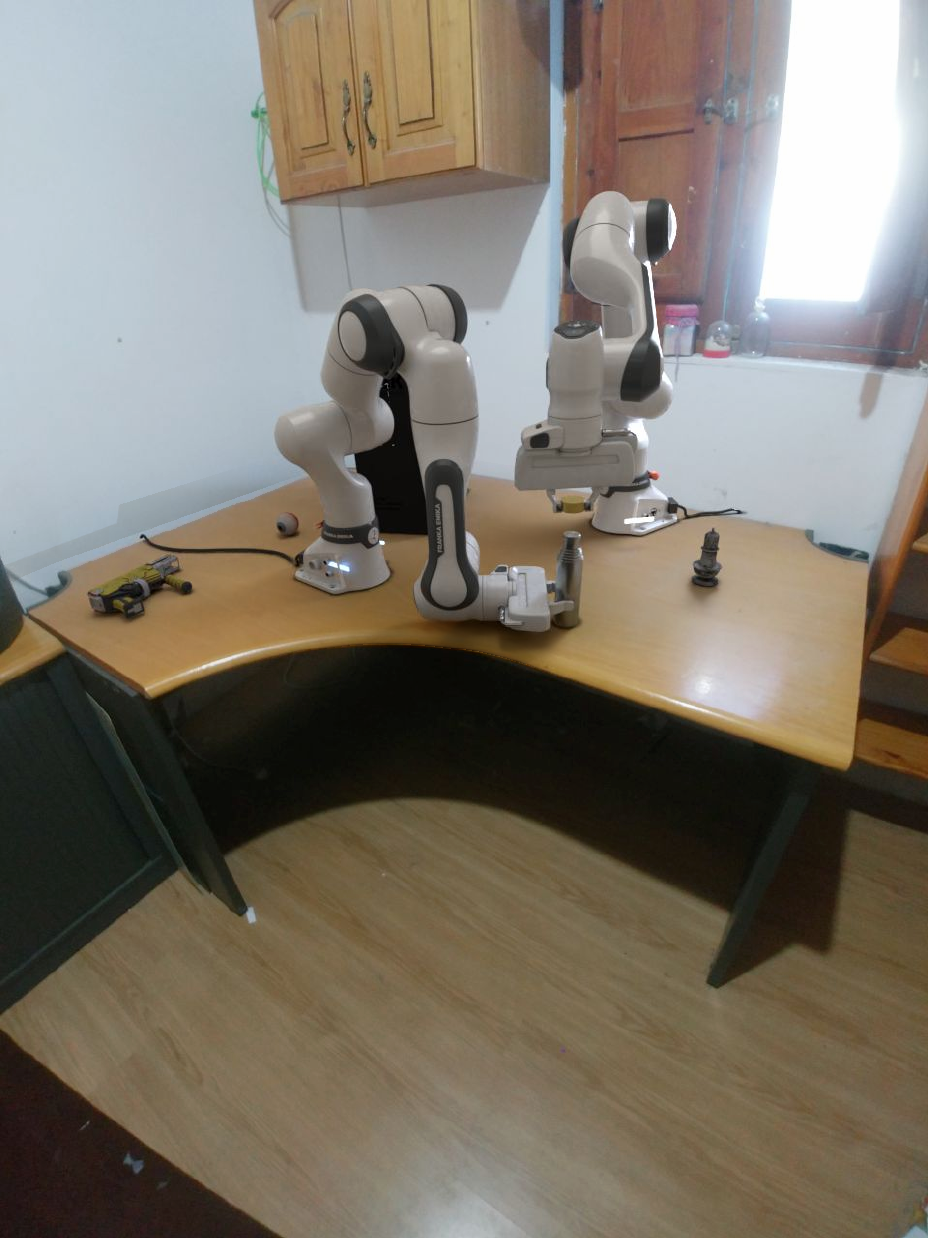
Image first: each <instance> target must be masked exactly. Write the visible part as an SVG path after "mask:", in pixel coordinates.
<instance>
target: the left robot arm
mask: <svg viewBox="0 0 928 1238" xmlns="http://www.w3.org/2000/svg"><path fill="white" fill-rule="evenodd" d="M468 322H469V321H468V312H467V308H466V305H465V302H464V301H463V298H462V296H461V295H460V294H459V293H458V291H456V290H455V289H454V288H452V287H450V286H448V285H443V284H437V283H429V284H427V285H404V286H397V287H394V288H390V289H385V290H381V291H378V290H376V289H373V288H368V287H359V288H355V289H352V290H351V291H349V292H348V293H347V294H346V295H345V296H344V297H343V300H342V301H341V303H340V305H339V307H338V309H337V312H336V314H335V316H334V318H333V321H332V324H331V327H330V330H329V333H328V338H327V341H326V347H325V351H324V355H323V360H322V364H321V368H320V373H319V374H320V382H321V385H322V387H323V390H324V391H325V393H326V394H327V395H328V396H329V398H331V400H328V401H325V402H319V403H313V404H307V405H302V406H301V405H300V406H299V407H296V408H293V409H291V410H289V411H287V412H285V413H283V414H280V416H278V418H277V419H276V421H275V425H274V431H273V438H274V442H275V445H276V448H277V449H278V452H279V453H280V454H281V456H282V457H283V458H284V459H286V461H288V462H289V463H291V464H292V465H295V466H297V467H298V468H300V469H302V470H303V471H304V472H305V473H306V474H307V475H308V476H309V478H310V479H311V480H312V481H313V484H314V485H315V487H316V489H317V492H318V497H319V500H320V504H321V508H322V512H323V519H322V521H321V522H319V523H316V524H315V526H316V530H319V529H321V532H320V536H318V538H316V539H315V540H314V541H313V542H312V543H311V544H310V545H309V546H307V548H305V549H304V550H301V551H300V552H298V553H297V554H296V555H295V556H294V560H293V559H292V558H291V557H290V556H289V555H288V554H286V553H284V552H282V551H278V550H273V549H268V548H267V549H266V548H265V549H264V548H253V547H223V548H222V547H221V548H220V547H217V548H181V547H172V546H171V547H169V546H163V545H160V544H157V543H155V542H152V541H151V540H150V539H149V538H148V537H147V536H146V534H144V533H141V534H140V536H139V539H141V540H145V541H146V543H147V544H148V545H149V546H152V547H154V548H157V549H161V550H167V551H171V552H172V551H173V552H184V553H185V552H187V553H188V552H189V553H190V552H191V553H194V552H195V553H205V552H206V553H210V552H211V553H212V552H256V553H268V554H273V555H274V554H275V555H278V556H282V557H284V558H285V559H286V560H287V561H289V562H290V563H294V562H295V563H294V566H295V567H299V566H300V565H302V566H300V567H299V568H298V569H297V570H296V572H295V573H294V578H295V579H296V580H298V581H300V582H302V583H305V584H307V585H310V586H313V587H315V588H316V589H319V590H322V591H323V592H324V591H325V592H327V593H329V594H332V595H339V594H343V593H347V592H353V591H363V590H366V589H370V588H374V587H376V586H378V585H380V584H383V583H384V582H386V581H387V580H388V579H389V577H390V576H391V571H390V568H389V567H388V564H387V561H386V558H385V555H384V552H383V548H382V545H385V541H383V540H380V532H379V524H378V518H377V515H376V514H375V510H374V502H373V494H372V487H371V484H370V483H369V481H368V480H367V479H366V478H365V477H364V476H363V475H361V474H359V473H357V472H356V471H353V470H350V469H348V468H347V465H346V462H345V457H347V456H351V455H352V456H353V455H354V454H356V453H360V452H364V451H368V450H371V449H373V448H375V447H378V446H380V445H381V444H383V443H385V442H387V441H389V440H390V438H391V436H392V434H393V430H394V418H393V414H392V411H391V409H390V407H389V406H388V405H387V403H386V402H385V401H384V400H383V399H381V398H380V397H379V392H380V388H381V387H382V386H381V385H382V381H383V378H385V379H391V378H392V377H393V376H394V375H395V374H396V372H398V373H399V374H400V375H401V376H402V377H403V378H404V380H405V381H406V383H407V386H408V391H409V398H410V415H411V425H412V433H413V439H414V444H415V449H416V454H417V458H418V463H419V468H420V472H421V477H422V483H423V488H424V493H425V499H426V511H427V526H428V534H427V541H428V553H427V558H426V561H425V563H424V566H423V568H422V571H421V573H420V574H419V577H418V578H417V579H416V580H415V581H414V584H413V590H412V592H413V601H414V605H415V608H416V611H417V613H418V614H419V615H420V617H422V618H424V619H426V620H430V621H437V622H465V621H467V620H477V621H481V622H499V624H502V625H504V626H505V627H506V628H511V629H512V630H515V631H523V632H537V633H538V632H541V633H542V632H546V631H548V630H549V629H551V616H552V615H554V614H557V613H560V612H563V611H571V610H573V608H574V603H573V600H572V599H563V601H560V602H555V601H554V600H549V594H552V593H555V581H554V580H546V578H547V577H546V571H545V568H544V567H541V566H536V565H514V566H511V567H509V566H508V564H498V565H496V567H495V569H493V571H492V572H490V573H489V574H480V566H481V565H480V563H481V550H480V546H479V542H478V539H477V538H476V537H475V535H473V533H471V532H470V531H468V530H467V527H466V526H467V525H466V501H467V493H468V490H469V483H470V479H471V477H472V471H473V468H474V464H475V460H476V455H477V449H478V442H479V441H478V440H479V432H480V431H479V430H480V429H479V428H480V416H479V415H480V414H479V413H480V412H479V411H480V410H479V398H478V389H477V383H476V382H477V381H476V377H475V372H474V367H473V361H472V358H471V355H470V352H469V351H468V350H467V349H466V347H464V346H463V345H462V343H463V342H464V340H465V338H466V336H467V333H468V332H467V331H468V324H469V323H468ZM460 344H461V345H460ZM467 489H468V490H467Z"/></svg>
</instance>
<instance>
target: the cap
mask: <svg viewBox="0 0 928 1238" xmlns="http://www.w3.org/2000/svg"><path fill="white" fill-rule="evenodd" d="M585 499H586V498H585V497H583V496H580V495H566V496H562V497H560V501H561V503H562V508H561V509H562V513H565V514H573V515H575V514H580V513H583V512H585Z"/></svg>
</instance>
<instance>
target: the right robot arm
mask: <svg viewBox="0 0 928 1238" xmlns="http://www.w3.org/2000/svg"><path fill="white" fill-rule="evenodd" d="M676 231H677V220H676V216H675V212H674V210H673V207H672V204H671V203H670V201H668V200H667V198H662V197H651V198H648V200H635V201H630V200H629V199H628V197H627V196H625V195H624V194H622V193H621V192H619V191H615V190H606V191H602V192H600V193H598V194H596V195H594V196H593V197H592V198H591V199H590V200H589V201H588V202H587V204H586V205H585V207H584V209H583V211H582V214H580V215H577V216H575V217H574V218H572V219H570V220H569V221H568V223H567V224H566V225H565V227H564V228H563V232H562V240H561V254H562V259H563V262H564V265H565V267H566V269H567V270H568V271H569V272H570V278H571V282H572V284H573V285H574V287H575V288H576V290H577V291H578V293H580V294H581V296H583V297H584V298H585V299H587V300H589V301H591V302H593V303H596V304H600V308H601V309H600V310H601V323H599V322H596V321H593V320H589V319H575V320H574V319H573V320H569V321H565V322H562V323H559V324H558V325H556V326H555V327H554V329H552V333H551V336H550V344H549V351H548V357H547V359H546V362H545V388H547V390H548V393H549V405H548V407H547V419H544V420H542V421H539V422H537V423H533V424H531V425H529V426H526V427H524V428H523V429H521V432H520V443H521V444H520V446H519V447H518V449H517V451H516V454H515V455H516V456H515V464H514V487H515V488H516V489H517V490H518V491H519V492H525V491H526V492H527V491H544V490H545V491H546V496H547V497H548V499H549V501H550V502H551V504H552V512H553V514H561V513H563V512H562V509H561V508H562V503H561V500H557V499H556V497H555V495H556V490H567V489H586V488H590V489H591V494H590V495H589V497H588V499H587V498H585V510H584V512H586V513H587V512H588V513H589V512H594V514H593V517H592V520H591V525H592V526H593V527H594V528H595V529H597V530H599V531H601V532H605V533H611V534H623V535H625V534H626V535H632V536H633V535H634V536H645V535H646V534H650V533H652V532H654V531H657V530H660V529H662V528H665V527H668V526H670V525H672V524H675V523H677V522H678V516H677V515H676V514H678V509H681V510H682V511H683V515H684V517H685V518H687V519H693V518H696V517H698V516H704V515H705V516H706V515H720V514H721V515H722V514H725V513H729V512H736V513H738V514H743V511H742V510H740V509H739V510H734V509H732V508H733V507H731V508H726V509H723V510H712V511H701V512H697V513H693V514H688V510H687V508H686V507H685V506H683V505H682V504H679V502H677V501H676V499H675V498H673V497H672V496H669V497H667V496H666V495H665V494H664V493H663V492H661V491H660V490H659V489H658V488H656V487H655V486H654V485H652V483H651V480H653V481H658V479H659V478H660V473H659V472H657V471H654V470H651V471H649V470H648V469H647V466H648V458H649V457H648V455H649V446H650V439H649V436H648V433H647V432H646V430H645V427H644V422H643V421H648V420H650V421H651V420H655V419H658V418H660V417H661V416H663V415H664V414H666V413H667V411H668V410H669V409H670V407H671V405H672V402H673V400H674V386H673V384H672V382H671V380H670V378H668V376H667V375H666V373H665V359H664V354H663V350H662V347H661V342H660V337H659V330H658V323H657V311H656V304H655V297H654V296H655V294H654V286H653V276H652V268H651V267H655V266H657V265H658V262H659V261H661V260H662V259H664V258H665V257H666V256H667V254H668V253H669V252H670V251H671V249H672V245H673V243H674V241H675V237H676V233H677V232H676ZM596 501H597V502H596ZM595 503H596V507H594V505H595ZM594 508H595V511H594Z"/></svg>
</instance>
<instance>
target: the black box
mask: <svg viewBox="0 0 928 1238" xmlns="http://www.w3.org/2000/svg"><path fill="white" fill-rule="evenodd" d="M460 345H462V343H461V344H460ZM379 397H380V398H381V399H383V400H384V401H385V402H386V403H387V405H388V406H389V407H390V409H391V411H392V414H393V418H394V430H393V434H392V436H391V438H390V440H389V441H387V442H385V443H383V444H381V445H380V446H378V447H375V448H373V449H371V450H368V451H364V452H360V453H356V454H353V458H354V463H355V464H354V465H355V470H356V471H355V472H356V473H359V474H361V475H363V476H364V477H365V478H366V479H367V480H368V481H369V483H370V484H371V487H372V494H373V502H374V510H375V514H376V515H377V518H378V524H379V533H393V534H394V533H395V534H416V535H417V534H419V535H428V526H427V511H426V499H425V493H424V488H423V483H422V477H421V472H420V468H419V463H418V458H417V454H416V449H415V444H414V439H413V433H412V425H411V415H410V398H409V391H408V386H407V383H406V381H405V380H404V378H403V377H402V376H401V375H400V374H399V373H398V372H396V374H395V375H394V376H393V377H392V378H391V379H385V378H383V381H382V385H381V388H380V392H379ZM468 490H469V488H468V489H467V491H468Z"/></svg>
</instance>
